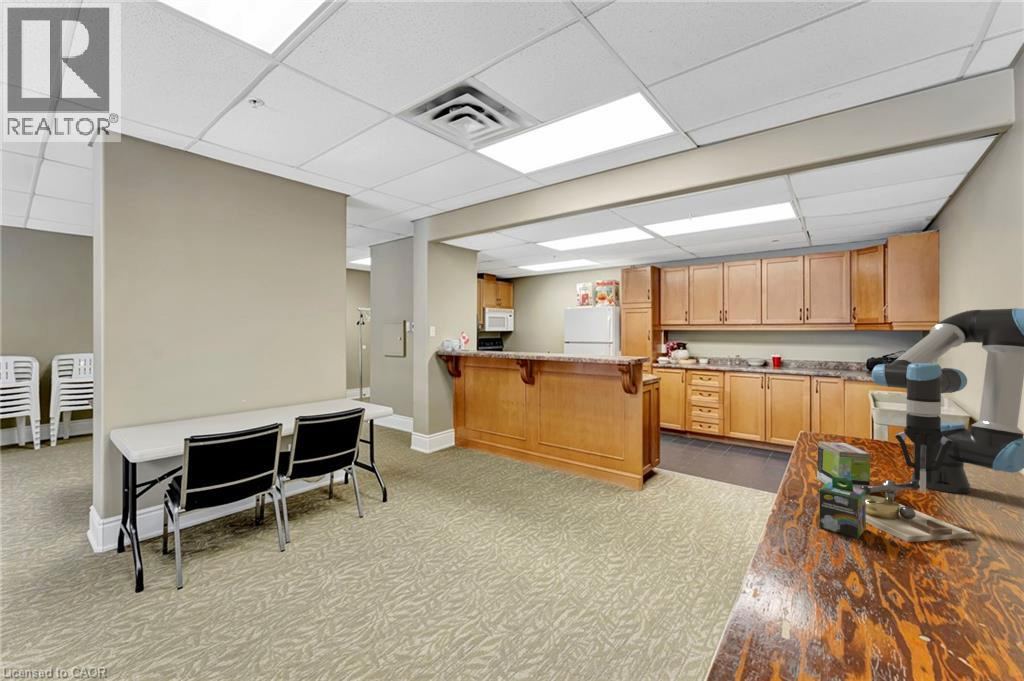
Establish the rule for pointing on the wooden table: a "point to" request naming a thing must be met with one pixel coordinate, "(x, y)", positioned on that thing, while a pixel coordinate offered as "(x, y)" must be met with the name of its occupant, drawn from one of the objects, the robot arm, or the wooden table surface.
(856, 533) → the chalk box
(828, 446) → the tea box
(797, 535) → the wooden table surface
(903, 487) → the capstan
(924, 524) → the stand board
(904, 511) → the ball
